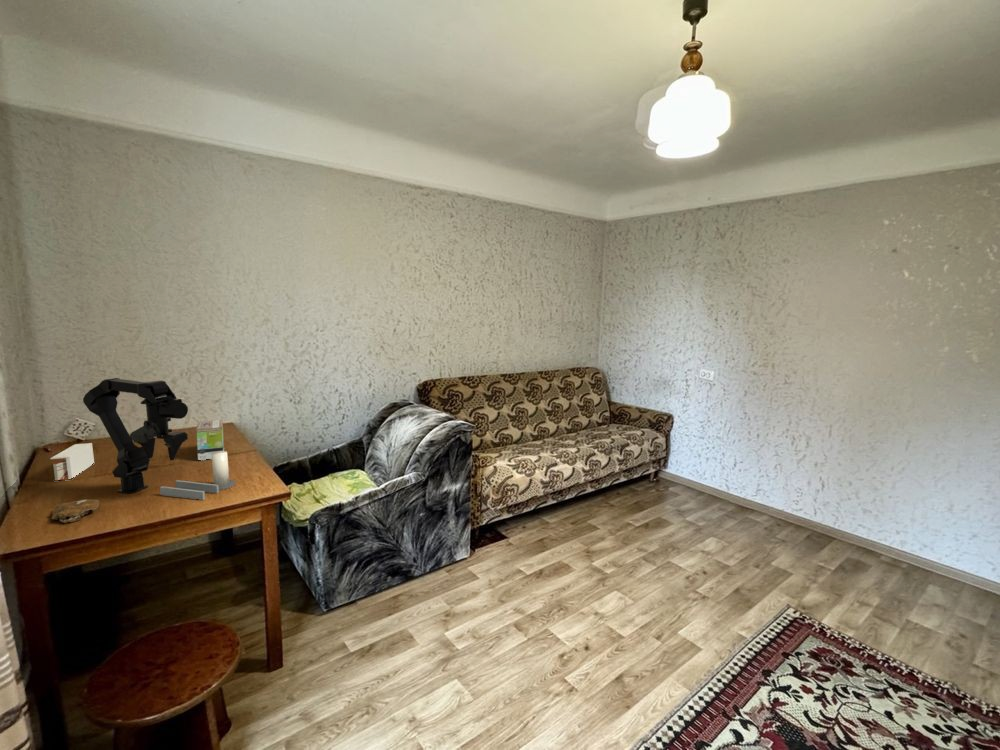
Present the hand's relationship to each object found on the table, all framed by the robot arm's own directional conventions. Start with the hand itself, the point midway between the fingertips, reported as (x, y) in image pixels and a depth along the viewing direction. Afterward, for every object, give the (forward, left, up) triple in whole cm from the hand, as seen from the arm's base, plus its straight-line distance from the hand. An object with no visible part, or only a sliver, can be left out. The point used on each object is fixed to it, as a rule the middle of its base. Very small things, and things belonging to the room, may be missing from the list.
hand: (161, 459), depth 158 cm
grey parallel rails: (+9, +2, -13) cm, 16 cm away
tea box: (-19, +40, -13) cm, 46 cm away
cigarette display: (-53, +8, -13) cm, 55 cm away
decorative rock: (-12, -20, -14) cm, 27 cm away
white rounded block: (+14, +11, -13) cm, 22 cm away
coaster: (+14, +11, -13) cm, 22 cm away
